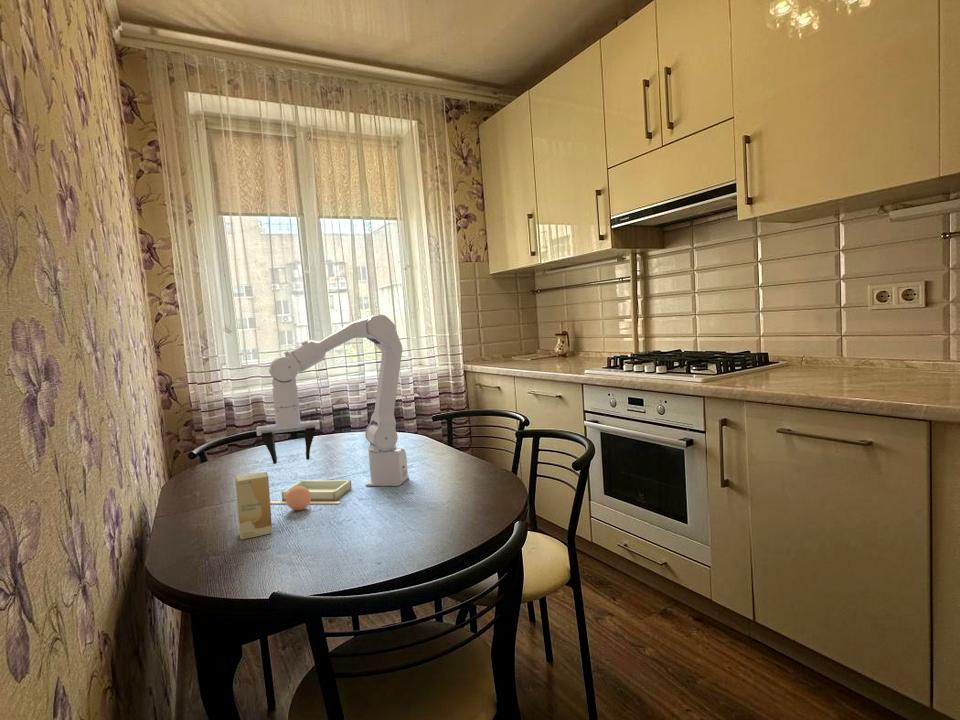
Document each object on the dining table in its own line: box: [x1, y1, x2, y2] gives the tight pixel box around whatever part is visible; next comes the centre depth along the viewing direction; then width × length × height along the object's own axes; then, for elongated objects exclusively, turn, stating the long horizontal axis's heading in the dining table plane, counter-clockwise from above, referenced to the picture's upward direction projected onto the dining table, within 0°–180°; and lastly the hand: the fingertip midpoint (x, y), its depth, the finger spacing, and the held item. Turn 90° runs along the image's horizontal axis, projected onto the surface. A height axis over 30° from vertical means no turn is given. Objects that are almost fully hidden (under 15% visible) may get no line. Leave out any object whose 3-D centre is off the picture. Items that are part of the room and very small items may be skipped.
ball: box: [286, 486, 311, 511], centre depth 127 cm, size 6×6×6 cm
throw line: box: [270, 500, 341, 505], centre depth 132 cm, size 18×1×1 cm, turn 79°
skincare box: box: [234, 471, 273, 540], centre depth 113 cm, size 6×4×12 cm
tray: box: [280, 479, 352, 501], centre depth 138 cm, size 14×10×2 cm
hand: (291, 460), depth 135 cm, fingers open, 7 cm apart
